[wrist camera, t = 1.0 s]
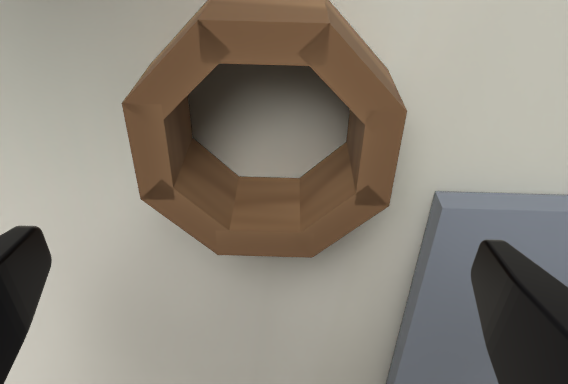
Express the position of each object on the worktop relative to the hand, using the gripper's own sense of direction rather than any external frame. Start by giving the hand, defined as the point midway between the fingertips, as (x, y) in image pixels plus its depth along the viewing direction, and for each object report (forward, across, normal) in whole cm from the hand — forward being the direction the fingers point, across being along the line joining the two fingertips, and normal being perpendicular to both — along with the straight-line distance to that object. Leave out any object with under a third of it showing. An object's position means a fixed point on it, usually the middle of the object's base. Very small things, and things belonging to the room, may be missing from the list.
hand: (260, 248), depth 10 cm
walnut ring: (+7, 0, 0) cm, 7 cm away
